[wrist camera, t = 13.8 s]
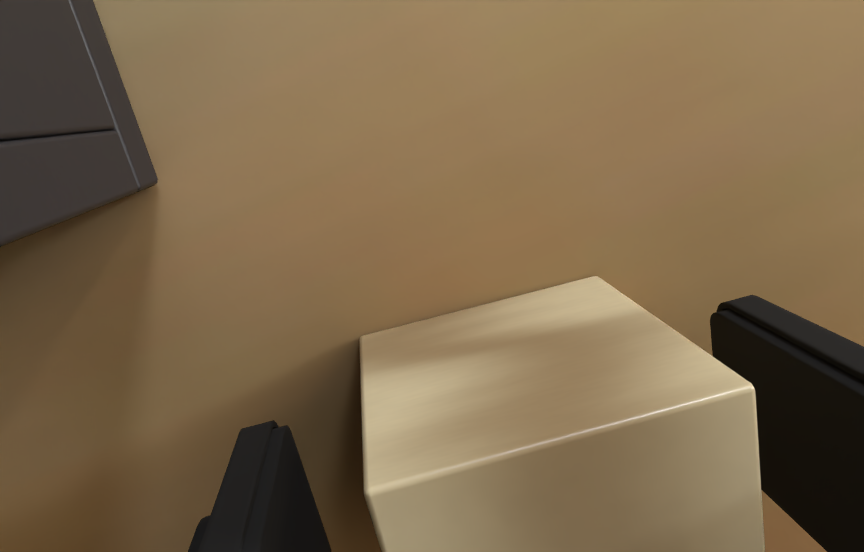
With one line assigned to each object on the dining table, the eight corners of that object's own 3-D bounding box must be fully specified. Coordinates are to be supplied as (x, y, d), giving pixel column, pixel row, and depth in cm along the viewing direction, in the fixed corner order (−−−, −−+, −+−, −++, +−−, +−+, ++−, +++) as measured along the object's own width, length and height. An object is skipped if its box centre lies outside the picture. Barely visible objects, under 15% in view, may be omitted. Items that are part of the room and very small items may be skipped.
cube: (414, 535, 12) (449, 779, 8) (357, 335, 11) (361, 493, 6) (625, 476, 12) (775, 678, 8) (597, 273, 11) (758, 384, 7)
